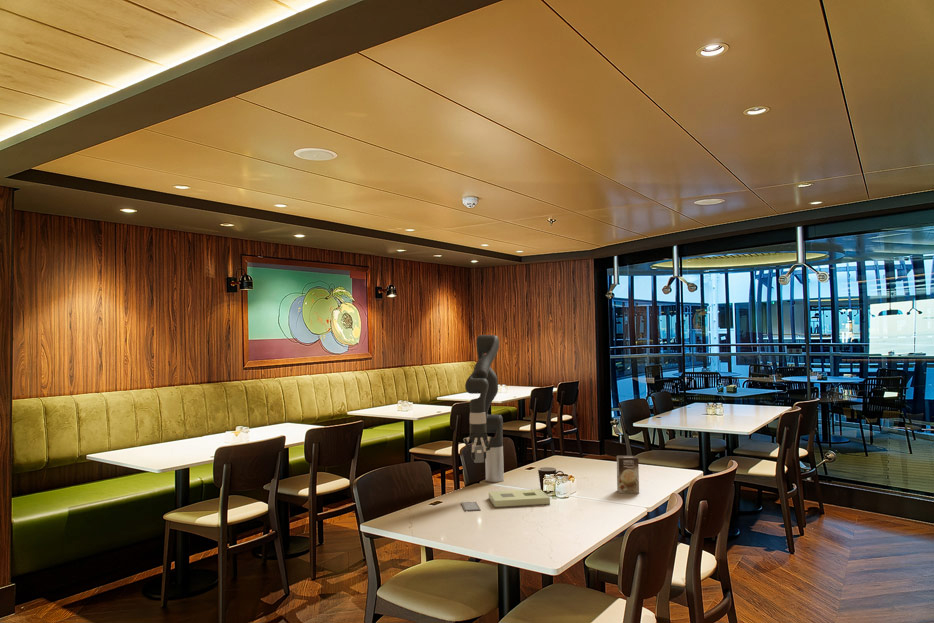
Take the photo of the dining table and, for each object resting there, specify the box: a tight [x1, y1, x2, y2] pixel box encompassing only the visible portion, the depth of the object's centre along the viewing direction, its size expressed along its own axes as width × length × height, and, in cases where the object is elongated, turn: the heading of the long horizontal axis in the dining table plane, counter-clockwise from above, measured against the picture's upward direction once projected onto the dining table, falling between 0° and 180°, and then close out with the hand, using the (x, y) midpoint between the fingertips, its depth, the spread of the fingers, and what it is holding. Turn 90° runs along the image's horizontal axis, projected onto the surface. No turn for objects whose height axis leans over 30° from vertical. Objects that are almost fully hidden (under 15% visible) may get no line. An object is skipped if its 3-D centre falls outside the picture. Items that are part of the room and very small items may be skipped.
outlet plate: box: [488, 488, 551, 509], centre depth 265 cm, size 16×24×3 cm, turn 97°
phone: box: [460, 501, 481, 512], centre depth 258 cm, size 13×7×1 cm, turn 8°
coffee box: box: [616, 455, 640, 494], centre depth 278 cm, size 9×6×16 cm
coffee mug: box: [537, 466, 565, 491], centre depth 283 cm, size 12×9×10 cm
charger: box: [473, 444, 485, 464], centre depth 273 cm, size 4×4×7 cm
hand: (478, 459), depth 273 cm, fingers closed on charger, 4 cm apart
